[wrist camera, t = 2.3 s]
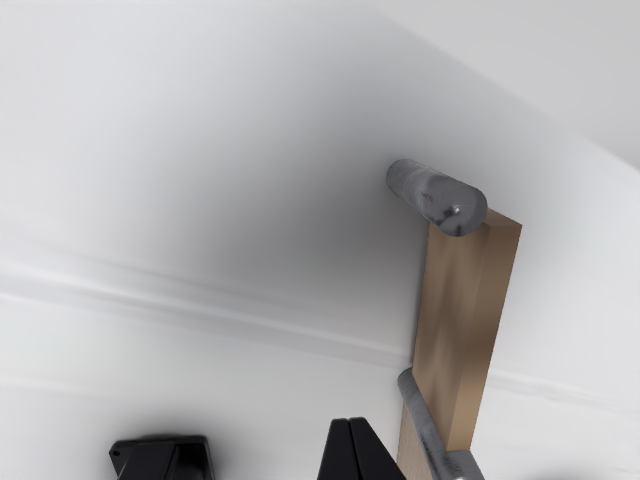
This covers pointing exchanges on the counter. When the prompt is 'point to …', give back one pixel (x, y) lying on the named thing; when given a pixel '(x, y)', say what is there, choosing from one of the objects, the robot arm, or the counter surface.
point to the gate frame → (417, 424)
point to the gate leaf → (461, 321)
